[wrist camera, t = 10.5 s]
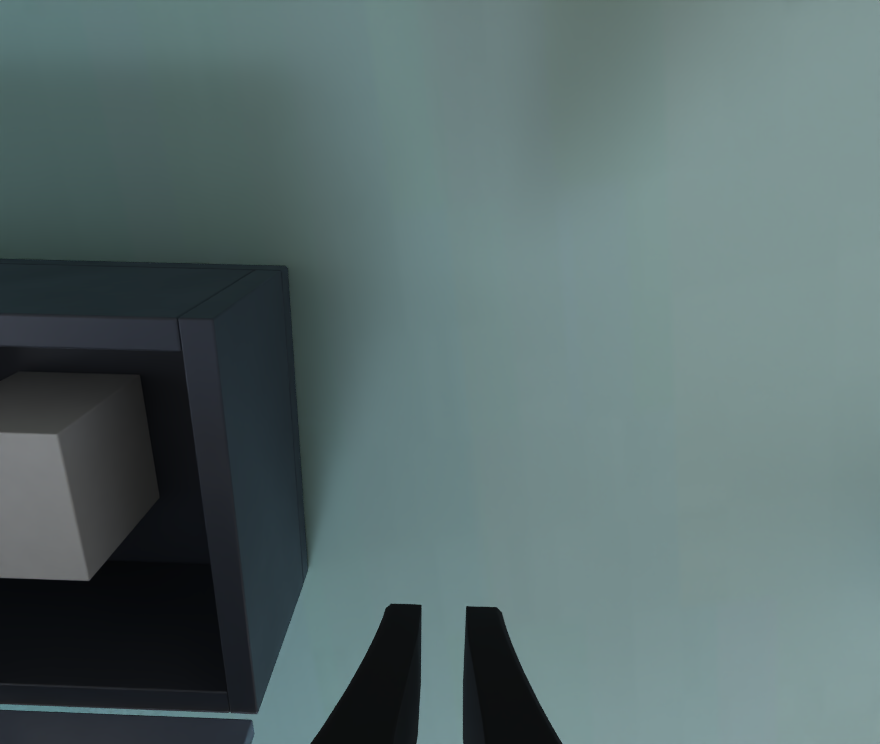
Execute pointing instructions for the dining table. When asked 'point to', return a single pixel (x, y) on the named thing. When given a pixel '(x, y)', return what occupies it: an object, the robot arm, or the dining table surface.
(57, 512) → the grey block
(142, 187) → the dining table surface
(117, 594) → the open box
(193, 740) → the box lid
